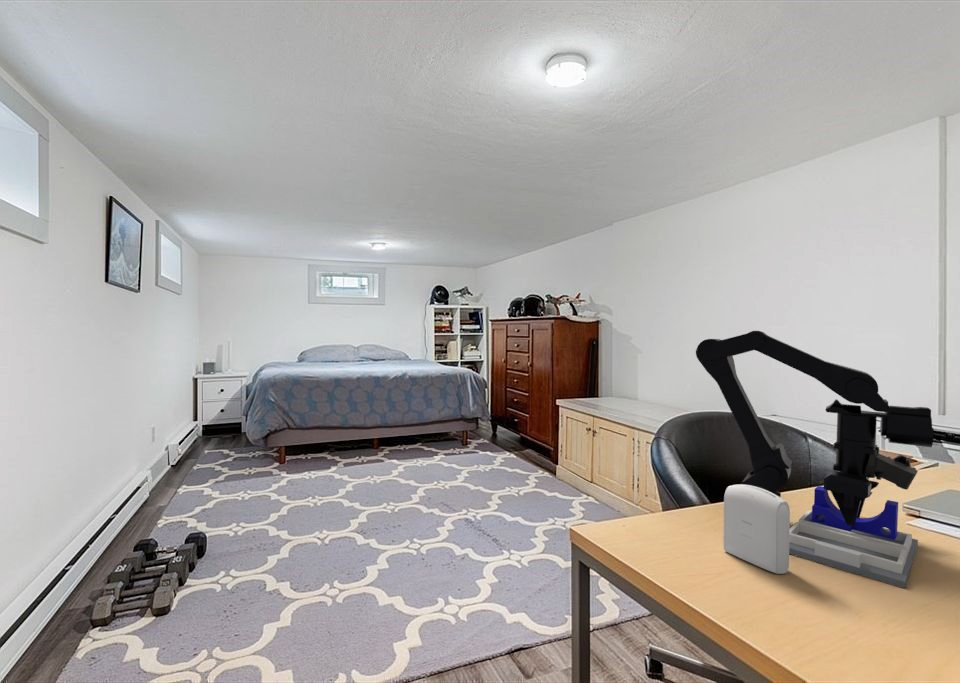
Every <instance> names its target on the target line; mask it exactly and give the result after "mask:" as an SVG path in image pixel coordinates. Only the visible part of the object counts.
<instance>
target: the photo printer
mask: <svg viewBox="0 0 960 683" xmlns="http://www.w3.org/2000/svg"><path fill="white" fill-rule="evenodd" d="M790 517H791V510H790V505H789V503H788V502H787V501H786V500H785V499H784V498H782V497H781V498H780V497H779V496H777V495H775V494H773V493H772V492H769V491H767V490H765V489H762V488H759V487H755V486H751V485H743V484H742V483H740V484H732V485H729V486H727V487H726V489H725V492H724V496H723V550H724V551H725V552H727V553H728V554H730V555H733V556H734V557H737V558H739V559H741V560H743V561H746V562H748V563H750V564H752V565H754V566H757V567H759V568H762V569H764V570H766V571H769V572H771V573H774V574H776V575H784V574H786V573H788V572H789V571H788V570H789V567H790V554H789V533H790V528H791V526H790V525H791V524H790V521H791V520H790V519H791V518H790Z"/></svg>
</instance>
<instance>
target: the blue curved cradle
mask: <svg viewBox="0 0 960 683" xmlns="http://www.w3.org/2000/svg"><path fill="white" fill-rule="evenodd" d="M813 497H814V500H813V503H814V504H812V506H811V511H812V522H816V523H820V524H824V525H828V526H832V527H836V528H840V529H844V530H847V531H851V530H852V529H854V530H858V531H862V532H866V533H870V534H874V535H878V536H882V537H886V538H890V539H894V540H895V539H896V536H897V531H898V523H899V521H898V519H899V518H898V517H899V502H898V501H894V500H889V499H887V500H886V501H885V503H884V509H883V510H882V511H881V512H880V513H879V514H877V515H874V516H871V517H866V518H856V522H855V525H854V526H850V525H847V524H846V522H845V520H844V517H843V515H842V513H841V511H840V509H839V507H838V506H836V505H835V504H834V502H833V501H832V500H831V498H830V495H829V490H826V489H824V486H822V485H817V486H816V487H815V488H814V496H813ZM883 528H886V529H889V530H890V531H891V532H888V531H885V530H884V529H883Z"/></svg>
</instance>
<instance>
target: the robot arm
mask: <svg viewBox="0 0 960 683" xmlns="http://www.w3.org/2000/svg"><path fill="white" fill-rule="evenodd" d="M752 351H756V352H758V353H760V354H763V355H765V356H767V357H769V358H771V359H773V360H775V361H778V362H780V363H782V364H785V365H786V366H788V367H790V368H792V369H794V370H796V371H799V372H801V373H803V374H806V375H807V376H809V377H812V378H814V379H815V380H817V381H818V382H820V383H821V384H822V385H824V386H825V387H827V388H828V389H829V390H831V391H832V392H834V393H835V394H837V395H838V396H840V397H841V398H843V399H844V400H845V401H847V402H849V403H852V404H846V403H845V404H844V403H841V402H840V401H839V399H834V400H833V402H832V403H831V404H829V405H827V406H825V412H826V413H830V414H831V413H832V414H836V415H837V416H836V441H835V442H834V443H833V449H835V450H836V451H835V463H834V464H833V466H832V467H833V468H832V470H833V471H832V472H830V473H829V474H827V475H826V476H825V477H824V478H823V487H824V489H826V490H828V492H829V491H830V493H831V495H832V496H833V498H834V500H835V502H836V505H837V508H838V509H840V511H841V513H842V515H843V517H844V520H845V522H846V524H847V525H850V526H854V525H855V522H856V518H859V517H860V516H861V514H862V510H863V507H864V505H865V501H866V499H868V498H870V497H871V496H872V494H873V492H872V490H874V489H875V488H877V487H878V486H879V484H880V482H878V481H875V480H870V478H871V479H875V478H876V480H879V481H882V479H884V481H888V482H890V483H892V484H894V485H896V487H898V488H900V489H902V490H908V489H909V488H910V485H912V482H913V481H914V480H915V477H916V476H917V474H918V470H917V468H916V467H914V466H913V467H912V464H911V459H910V457H907V456H904V455H902V454H899V455H897V456H895V457H893V458H892V457H891V456H886V455H883V454H881V453H880V446H878V444H877V418H880V436H881V437H885V438H886V439H887V440H888V443H890V444H898V445H908V446H917V447H923V448H924V447H925V448H932V447H933V445H934V444H933V443H934V436H935V434H934V432H935V430H934V427H933V420H932V419H933V418H932V410H931V409H930V407H926V406H915V407H913V406H912V407H910V406H900V405H890V404H889V401H888V400H887V399H886V398H885V399H884V398H883V397H882V396H881V395H880V394H879V384H878V382H877V381H876V380H875V378H874V377H873V376H872V375H871V374H870V373H868V372H865V371H862V370H859V369H856V368H852V367H848V366H844V365H841V364H837V363H833V362H829V361H827V360H823V359H821V358H819V357H817V356H815V355H812V354H810V353H808V352H805V351H803V350H801V349H799V348H796V347H794V346H792V345H790V344H788V343H786V342H783V341H781V340H779V339H776V338H774V337H772V336H770V335H768V334H766V333H765V332H764V331H761V330H752V331H749V332H747V333H743V334H740V335H736V336H732V337H728V338H724V339H720V338H707V339H704V340H702V341H701V342H700V343H698V345H697V346H696V349H695V356H696V358H697V360H698V362H699V363H700V364H701V366H702V367H703V368H704V370H705V371H706V372H707V374H708V375H710V377H711V378H712V379H713V380H714V381H715V382H716V384H717V385H718V387H719V389H720V391H721V393H722V395H723V398H724V399H725V401H726V404H727V405H728V408H729V410H730V412H731V415H732V416H733V418H734V420H735V422H736V424H737V426H738V428H739V430H740V431H741V432H740V433H741V434H742V436H743V438H744V440H745V442H746V444H747V447H748V454H749V458H750V463H751V466H752V467H751V468H752V470H751V471H749V472H748V473H747V475H746V476H745V477H744V479H743V480H742V482H741V484H743V485H751V486H755V487H759V488H762V489H765V490H767V491H769V492H772V493H773V494H775V495H777V496H779V497H780V498H782V496H781V495H782V494H781V492H780V491H778V490H776V489H780V488H783V487H784V486H785V485H786V484H787V482H788V480H789V478H790V476H791V471H792V467H791V466H792V462H793V461H792V459H791V458H789V456H788V455H787V452H786V450H785V447H784V444H783V443H782V442H781V443H778V444H776V445H775V443H774V442H773V441H772V440H771V439H770V438H769V436H768V434H767V433H766V431H765V428H764V427H763V425H762V422H761V421H760V419H759V417H758V415H757V412H756V410H755V408H754V407H753V405H752V403H751V401H750V398H749V397H748V395H747V393H746V391H745V389H744V387H743V385H742V383H741V381H740V379H739V377H738V374H737V370H736V365H735V360H734V356H737V355H740V354H741V355H742V354H745V353H748V352H752ZM856 404H857V405H856ZM859 404H860V405H859ZM861 404H862V405H865V406H866V407H869V409H871V410H873V411H869V410H863V409H862V405H861Z"/></svg>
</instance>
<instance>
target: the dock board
mask: <svg viewBox="0 0 960 683" xmlns="http://www.w3.org/2000/svg"><path fill="white" fill-rule="evenodd" d="M859 518H867V517H865V516H862V515H860V517H859ZM883 529H884V530H885V531H888V532H891V531H890V530H889V529H888V528H883ZM918 545H919V540H918V539H917V538H916V539H915V538H913V534H911V533H907V532H903V531H898V530H897V536H896V539H895V540H894V539H890V538H886V537H882V536H878V535H874V534H870V533H866V532H862V531H858V530H854V529H852V530H851V531H847V530H844V529H840V528H836V527H832V526H828V525H824V524H820V523H816V522H812V510H810V509H809V510H807V511H806V512H805V513H804V514H803V515H802V516H801V517H800V518H799V519H798V521H796V522H795V523H794V524H793V525H791V526H790V533H789V555H793V556H795V557H799V558H802V559H806V560H808V561H812V562H816V563H820V564H822V565H827V566H829V567H832V568H836V569H838V570H842V571H845V572H848V573H852V574H856V575H860V576H863V577H866V578H868V579H873V580H876V581H879V582H882V583H885V584H890V585H893V586H896V587H900V588H901V589H902V588H903V589H906V588H907V584H908V580H909V576H910V573H911V569H912V567H913V562H914V560H915V556H916V553H917V549H918Z"/></svg>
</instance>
